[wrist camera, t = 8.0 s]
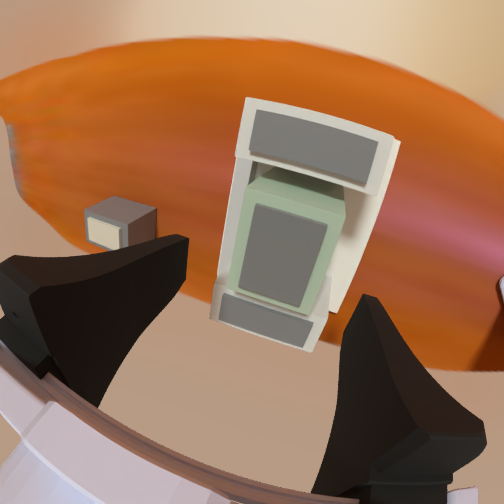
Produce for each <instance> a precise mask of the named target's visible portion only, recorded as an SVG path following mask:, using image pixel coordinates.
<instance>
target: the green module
mask: <svg viewBox="0 0 504 504" xmlns="http://www.w3.org/2000/svg"><path fill="white" fill-rule="evenodd" d="M345 218H346V212H345V199H344V188H343V186H342V185H339V184H336V183H333V182H330V181H326V180H323V179H320V178H316V177H313V176H309V175H306V174H302V173H299V172H295V171H292V170H288V169H284V168H280V167H277V166H275V167H273V168H272V169H270V170H269V171H268V172H266V173H265V174H263V175H262V176H260V177H259V178H258V179H256V180H255V181H253V182H252V183H251V184H249V185H248V186H246V187H245V191H244V196H243V202H242V207H241V212H240V217H239V223H238V228H237V233H236V239H235V244H234V249H233V255H232V260H231V266H230V271H229V277H228V283H227V289H230V290H233V291H236V292H239V293H242V294H245V295H248V296H251V297H253V298H256V299H259V300H262V301H265V302H268V303H271V304H274V305H278V306H281V307H284V308H287V309H290V310H293V311H296V312H299V313H302V314H306V315H309V314H310V312H311V309H312V307H313V304H314V302H315V299H316V297H317V294H318V292H319V289H320V287H321V284H322V282H323V279H324V277H325V274H326V271H327V269H328V266H329V263H330V261H331V258H332V255H333V252H334V250H335V247H336V244H337V241H338V239H339V236H340V233H341V230H342V227H343V224H344V221H345Z"/></svg>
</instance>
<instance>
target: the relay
mask: <svg viewBox="0 0 504 504" xmlns="http://www.w3.org/2000/svg"><path fill="white" fill-rule="evenodd" d="M156 210H157V208H155V207H151V206H148V205H144V204H141V203H137V202H134V201H130V200H127V199H123V198H120V197H116V196H112V197H110V198H108V199H106V200H103V201H101V202H99V203H97V204H95V205H93V206H90V207H88V208H86V209H84V214H85V228H86V239H87V242H90V243H92V244H94V245H97V246H99V247H101V248H104V249H106V250H108V251H112V250H116V249H120V248H124V247H128V246H132V245H136V244H139V243H143V242H146V241H150V240H153V239H155V233H156Z"/></svg>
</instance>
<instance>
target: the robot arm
mask: <svg viewBox="0 0 504 504" xmlns="http://www.w3.org/2000/svg"><path fill="white" fill-rule="evenodd" d="M188 246H189V238H187V237H184V236H181V235H178V234H174V235H168V236H164V237H161V238H157V239H153V240H150V241H146V242H143V243H139V244H136V245H132V246H128V247H124V248H120V249H116V250H112V251H107V252H102V253H96V254H90V255H82V256H71V257H30V256H19V255H14V256H11V257H9V258H8V259H6V260H5V261H3V262H2V263H0V304H1V307H2V310H3V312H4V314H5V316H3V317H2V318H1V319H0V413H1V415H2V416H3V417H4V418H5V419H6V420H7V422H8V423H9V424H10V425H11V426H12V427H13V428H14V429H15V430H16V431H17V433H18V434H19V435H20V436H21V439H22V441H21V442H20V443H19V444H18V446H17V447H16V448H15V450H14V451H13V452H12V453H11V455H10V456H9V457H8V458H7V460H6V461H5V462H4V463H3V465H2V466H1V467H0V504H238V503H235V502H233V501H236V502H240V503H243V504H478V487H475V486H474V487H468V488H462V489H456V490H452V491H449V492H447V485H448V484H451V483H452V481H453V473H454V472H455V471H457V470H458V469H460V468H461V467H463V466H465V465H466V464H468V463H469V462H471V461H472V460H474V459H475V458H476V457H478V456H479V455H480V454H481V453H482V452H483V450H484V449H485V447H486V445H487V441H486V434H485V429H484V423H483V421H482V420H481V419H479V418H478V417H476V416H475V415H474V414H472V413H471V412H470V411H468V410H467V409H466V408H464V407H463V406H462V405H461V404H460V403H458V402H457V401H456V400H455V399H454V398H453V397H452V396H450V395H449V394H448V393H447V392H446V391H445V390H444V389H443V388H442V387H441V386H440V385H439V384H438V383H437V381H436V380H435V379H434V378H433V377H432V376H431V375H430V374H429V373H428V372H427V370H426V369H425V368H424V367H423V365H422V364H421V363H420V362H419V360H418V359H417V358H416V357H415V355H414V354H413V352H412V351H411V350H410V348H409V347H408V345H407V344H406V342H405V341H404V339H403V338H402V336H401V335H400V333H399V332H398V330H397V328H396V327H395V325H394V324H393V322H392V320H391V319H390V317H389V315H388V314H387V312H386V311H385V309H384V307H383V306H382V304H381V303H380V301H379V300H378V299H377V298H376V297H373V296H369V295H366V294H363V295H362V297H361V299H360V301H359V303H358V305H357V307H356V309H355V311H354V313H353V315H352V317H351V319H350V321H349V323H348V324H347V326H346V328H345V330H344V333H343V338H342V344H341V350H340V363H339V381H338V396H337V405H336V411H335V416H334V421H333V425H332V429H331V433H330V437H329V441H328V445H327V448H326V452H325V455H324V458H323V461H322V464H321V467H320V470H319V473H318V475H317V478H316V481H315V483H314V486H313V488H312V491H311V493H306V492H300V491H295V490H290V489H286V488H281V487H277V486H273V485H269V484H265V483H261V482H258V481H254V480H251V479H247V478H244V477H240V476H237V475H234V474H231V473H228V472H225V471H222V470H220V469H217V468H214V467H211V466H209V465H206V464H204V463H201V462H198V461H196V460H194V459H191V458H189V457H187V456H184V455H182V454H180V453H177V452H175V451H173V450H171V449H169V448H167V447H165V446H163V445H160V444H158V443H156V442H154V441H153V440H151V439H149V438H147V437H145V436H143V435H141V434H139V433H137V432H136V431H134V430H132V429H130V428H128V427H127V426H125V425H123V424H122V423H120V422H118V421H117V420H115V419H113V418H112V417H110V416H109V415H107V414H105V413H104V412H102V411H101V410H99V409H98V407H99V405H100V402H101V400H102V398H103V396H104V394H105V392H106V390H107V388H108V386H109V385H110V383H111V381H112V379H113V377H114V375H115V374H116V372H117V370H118V368H119V367H120V365H121V364H122V362H123V360H124V359H125V357H126V355H127V354H128V352H129V351H130V349H131V348H132V346H133V345H134V343H135V342H136V341H137V339H138V338H139V336H140V335H141V334H142V333H143V331H144V330H145V329H146V328H147V327H148V326H149V324H150V323H151V322H152V321H153V320H154V319H155V318H156V317H157V316H158V314H159V313H160V312H161V311H162V310H163V309H164V308H165V306H167V304H168V303H169V302H170V301H171V300H172V298H173V297H174V296H175V295H176V293H177V292H178V290H179V289H180V287H181V286H182V284H183V283H184V281H185V280H186V270H187V257H188ZM499 287H500V290H501V294H502V298H503V302H504V276H503V277H502V278H501V279H500V281H499ZM231 500H233V501H231Z"/></svg>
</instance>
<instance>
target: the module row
mask: <svg viewBox="0 0 504 504" xmlns="http://www.w3.org/2000/svg"><path fill="white" fill-rule="evenodd" d="M400 143H401V141H398V140H396V139H394V136H392V135H389V134H386V133H384V132H381V131H378V130H375V129H372V128H369V127H366V126H363V125H360V124H357V123H354V122H351V121H348V120H344V119H341V118H338V117H334V116H331V115H327V114H323V113H319V112H316V111H312V110H308V109H304V108H299V107H295V106H291V105H286V104H281V103H276V102H271V101H266V100H261V99H255V98H249V97H246V100H245V105H244V110H243V115H242V120H241V125H240V130H239V135H238V141H237V146H236V152H235V157H236V163H235V168H234V174H233V180H232V185H231V191H230V197H229V203H228V209H227V215H226V221H225V227H224V233H223V239H222V246H221V252H220V259H219V265H218V272H217V275H218V276H217V280H216V281H215V282H214V288H213V295H212V303H211V311H210V319H212V320H215V321H217V322H220V323H223V324H225V325H228V326H231V327H234V328H236V329H239V330H242V331H245V332H248V333H251V334H254V335H256V336H260V337H263V338H266V339H268V340H272V341H275V342H278V343H281V344H284V345H287V346H290V347H293V348H297V349H300V350H303V351H307V352H310V353H311V352H312V351H313V349H314V347H315V345H316V343H317V341H318V339H319V336H320V334H321V332H322V330H323V328H324V326H325V324H326V322H327V320H328V312H329V311H331V312H334V313H337V312H338V310H339V308H340V305H341V303H342V301H343V299H344V297H345V295H346V292H347V290H348V288H349V286H350V283H351V281H352V279H353V276H354V274H355V272H356V269H357V267H358V264H359V262H360V260H361V257H362V255H363V252H364V250H365V247H366V245H367V242H368V240H369V237H370V234H371V232H372V229H373V226H374V224H375V221H376V218H377V215H378V213H379V210H380V207H381V204H382V201H383V198H384V195H385V192H386V189H387V186H388V183H389V180H390V177H391V173H392V170H393V167H394V164H395V160H396V157H397V153H398V150H399V146H400ZM275 166H277V167H280V168H284V169H288V170H292V171H295V172H299V173H302V174H306V175H309V176H313V177H316V178H320V179H323V180H326V181H330V182H333V183H336V184H339V185H342V186H343V188H344V199H345V212H346V218H345V221H344V224H343V227H342V230H341V233H340V236H339V239H338V241H337V244H336V247H335V250H334V252H333V255H332V258H331V261H330V263H329V266H328V269H327V271H326V274H325V277H324V279H323V282H322V284H321V287H320V289H319V292H318V294H317V297H316V299H315V302H314V304H313V307H312V309H311V312H310V314H309V315H306V314H302V313H299V312H296V311H293V310H290V309H287V308H284V307H281V306H278V305H274V304H271V303H268V302H265V301H262V300H259V299H256V298H253V297H251V296H248V295H245V294H242V293H239V292H236V291H233V290H230V289H227V283H228V277H229V271H230V266H231V260H232V255H233V249H234V244H235V239H236V233H237V228H238V223H239V217H240V212H241V207H242V202H243V196H244V191H245V187H246V186H248V185H249V184H251V183H252V182H253V181H255V180H256V179H258V178H259V177H260V176H262V175H263V174H265V173H266V172H268V171H269V170H270V169H272V168H273V167H275Z"/></svg>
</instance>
